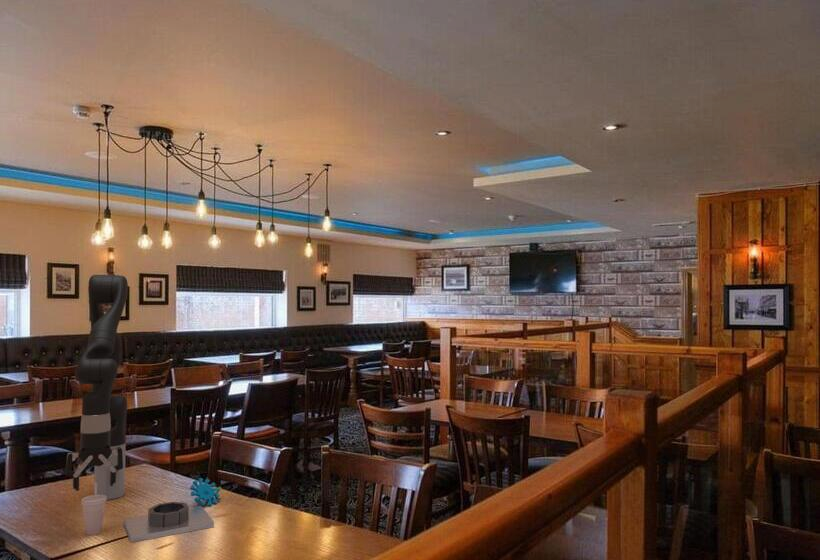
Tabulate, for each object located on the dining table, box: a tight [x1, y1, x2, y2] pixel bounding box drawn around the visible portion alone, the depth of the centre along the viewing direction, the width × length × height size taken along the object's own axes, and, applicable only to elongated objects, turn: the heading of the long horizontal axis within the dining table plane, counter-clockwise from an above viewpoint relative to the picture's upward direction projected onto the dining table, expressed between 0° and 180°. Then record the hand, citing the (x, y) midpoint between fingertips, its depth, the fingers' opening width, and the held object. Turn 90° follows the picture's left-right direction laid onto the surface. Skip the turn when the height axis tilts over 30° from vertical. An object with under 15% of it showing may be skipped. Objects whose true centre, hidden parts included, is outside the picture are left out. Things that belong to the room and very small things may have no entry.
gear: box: [189, 477, 222, 507], centre depth 196 cm, size 11×6×10 cm
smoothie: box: [80, 482, 108, 536], centre depth 170 cm, size 6×6×14 cm
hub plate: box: [122, 501, 215, 544], centre depth 176 cm, size 16×22×5 cm
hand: (94, 487), depth 170 cm, fingers open, 8 cm apart
